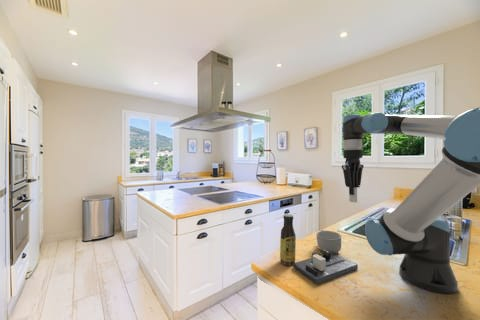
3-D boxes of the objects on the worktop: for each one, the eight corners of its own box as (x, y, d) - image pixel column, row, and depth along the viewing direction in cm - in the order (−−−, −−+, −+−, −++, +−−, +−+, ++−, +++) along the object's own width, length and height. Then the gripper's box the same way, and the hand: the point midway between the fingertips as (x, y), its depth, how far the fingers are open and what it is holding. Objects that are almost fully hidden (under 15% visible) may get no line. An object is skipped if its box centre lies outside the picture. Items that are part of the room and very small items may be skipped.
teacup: (344, 257, 89) (344, 239, 89) (318, 255, 91) (318, 237, 91) (336, 244, 102) (335, 228, 102) (313, 242, 104) (313, 227, 104)
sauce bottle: (286, 268, 80) (286, 218, 80) (277, 261, 86) (276, 214, 86) (299, 264, 83) (298, 216, 83) (288, 257, 89) (288, 212, 89)
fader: (325, 269, 75) (325, 258, 75) (321, 271, 74) (321, 260, 74) (317, 264, 78) (317, 254, 78) (312, 266, 77) (312, 255, 77)
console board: (357, 269, 79) (357, 257, 79) (316, 284, 69) (316, 271, 69) (331, 256, 90) (331, 246, 90) (293, 268, 80) (293, 257, 80)
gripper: (353, 150, 97) (353, 199, 97) (335, 149, 91) (336, 201, 91) (369, 149, 90) (370, 201, 90) (351, 148, 84) (352, 205, 84)
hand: (353, 201), depth 90 cm, fingers closed
